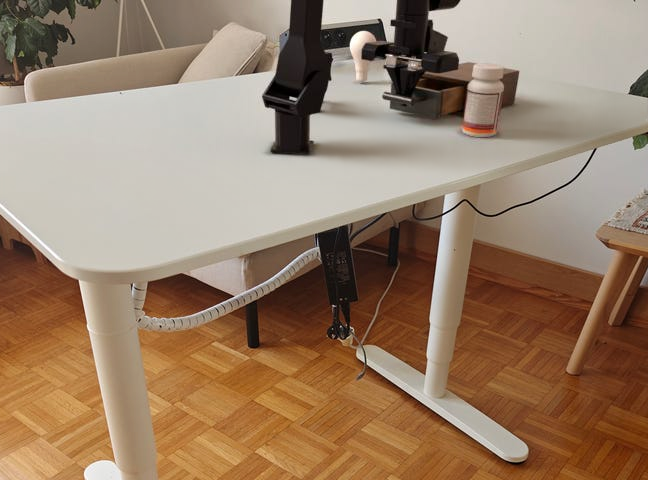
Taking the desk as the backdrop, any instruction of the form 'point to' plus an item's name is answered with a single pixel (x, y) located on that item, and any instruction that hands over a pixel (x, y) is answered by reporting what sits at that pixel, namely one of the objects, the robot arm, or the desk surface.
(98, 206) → the desk surface
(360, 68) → the lightbulb
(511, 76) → the cabinet
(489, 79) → the pill bottle
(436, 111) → the drawer
